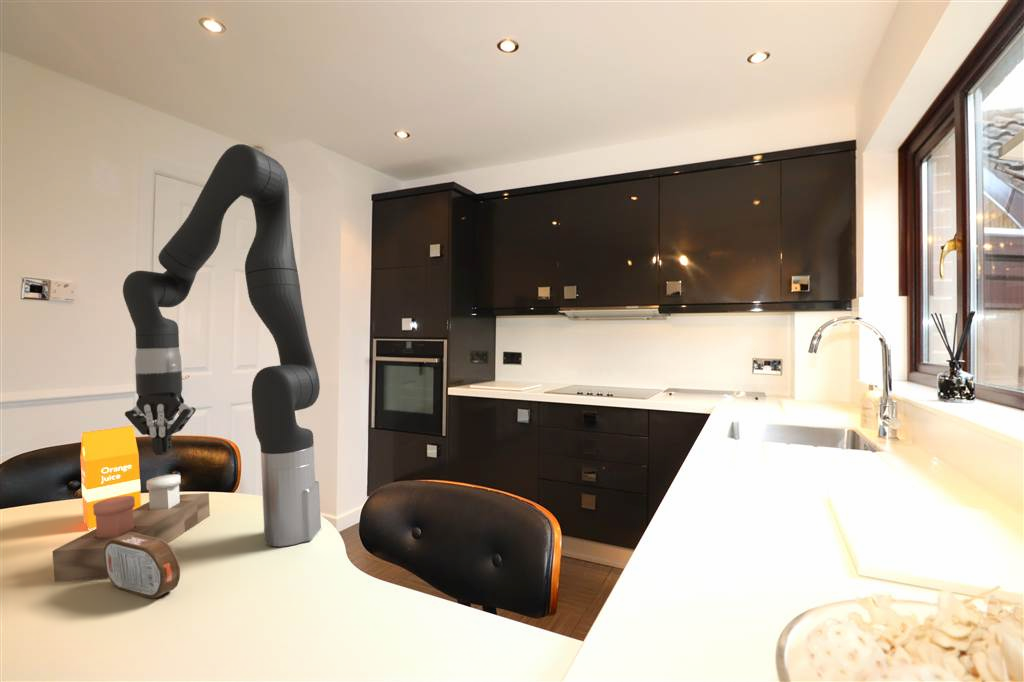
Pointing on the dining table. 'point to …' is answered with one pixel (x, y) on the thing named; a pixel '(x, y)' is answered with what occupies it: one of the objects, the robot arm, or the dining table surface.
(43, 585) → the dining table surface
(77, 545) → the block
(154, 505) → the white rounded piece
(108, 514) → the brick plunger
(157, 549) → the tin
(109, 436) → the orange juice
